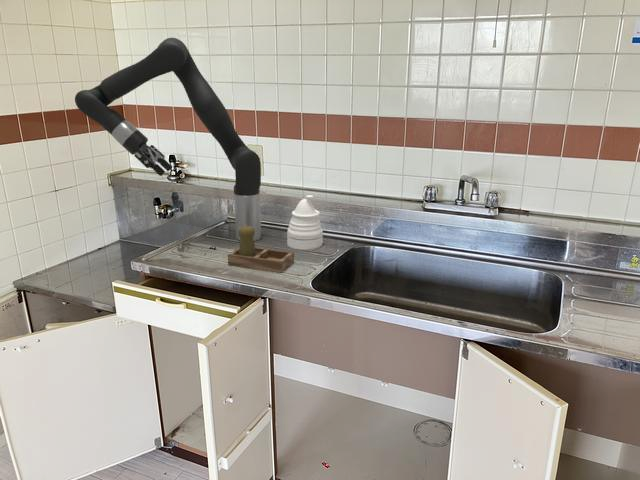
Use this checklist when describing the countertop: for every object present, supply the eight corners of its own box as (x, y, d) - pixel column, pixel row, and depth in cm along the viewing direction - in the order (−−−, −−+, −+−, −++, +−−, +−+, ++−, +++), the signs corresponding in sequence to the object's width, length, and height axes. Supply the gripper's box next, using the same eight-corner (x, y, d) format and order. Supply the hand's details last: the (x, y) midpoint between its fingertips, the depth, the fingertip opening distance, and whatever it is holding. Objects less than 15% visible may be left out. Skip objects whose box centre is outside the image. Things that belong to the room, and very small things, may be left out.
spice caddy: (243, 255, 173) (242, 245, 172) (293, 262, 167) (293, 252, 166) (228, 264, 165) (227, 254, 163) (281, 272, 158) (281, 262, 157)
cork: (257, 262, 164) (255, 229, 160) (237, 262, 163) (236, 229, 160) (256, 255, 170) (255, 223, 166) (238, 256, 169) (236, 224, 165)
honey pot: (329, 242, 187) (330, 194, 182) (310, 252, 177) (310, 201, 171) (300, 236, 194) (300, 189, 188) (280, 245, 184) (279, 196, 178)
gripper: (128, 131, 163) (168, 167, 166) (143, 127, 176) (179, 160, 180) (114, 148, 164) (153, 183, 168) (130, 142, 178) (166, 175, 181)
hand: (166, 171), depth 174 cm, fingers open, 8 cm apart
